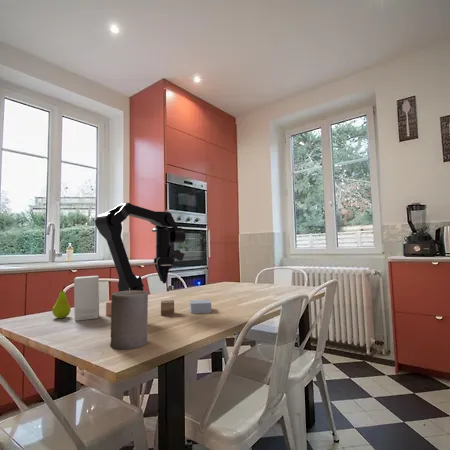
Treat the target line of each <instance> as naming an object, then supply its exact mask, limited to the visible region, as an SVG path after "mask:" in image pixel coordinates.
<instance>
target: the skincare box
mask: <svg viewBox="0 0 450 450" xmlns="http://www.w3.org/2000/svg"><path fill="white" fill-rule="evenodd" d="M99 279H100V278H99V275H89V276H76V277H75V278H73V282H74V283H73V291H74V296H73V297H74V304H73V305H74V321H75V322H76V321H77V322H78V321H83V320H85V321H86V320H95V319H96V320H97V319H99V317H100V289H99V287H100V284H99V283H100V282H99V281H100V280H99Z"/></svg>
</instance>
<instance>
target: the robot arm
mask: <svg viewBox="0 0 450 450" xmlns="http://www.w3.org/2000/svg"><path fill="white" fill-rule="evenodd" d="M128 217H133V218H137V219H139V220H145V221H147V222H149V223H151V225H152V226H154V228H153V229H151V232H152V233H155V243H156V244H155V257H154V258H153V265H154V267H155V270H156V273H157V274H158V278H159V281H160V282H162V284H167V280H168V276H169V271H170V270H171V268H173V266H174V265H175V260H174V259H176V260H177V261H181V262H183V259H184V257H185V253H184V252H181V250H180V249H175V250H174V249H173V246H172V245H171V244H183V243H185V241H186V238H187V237H186V233H185V232H184V231H183V228H182V227H178V225H177V222H176V221H175V218H174V217H173V215H172V213H171V212H170V211H155V210H151V209H148V208H144V207H143V206H142V207H141V206H139V205H135V204H132V203H131V202H122V203H120V204H118V205H117V206H116V207H114V208H112V209H110V210H108V211H106V212H104V213H101V214H100V213H99V214H98V215H97V216H96V218H95V220H94V225H95V226H96V229H97V230H98V232H99V234H100V235H101V236H102V237H103V238H104V239H105V241H106V242H107V246H108V249H109V252H110V255H111V258H112V260H113V263H114V266H115V270H116V272H117V275H118V283H117V287H118V289H117V292H119V291H129V288H130V291H132V290H137V291H145V290H144V287H145V285H144V283H143V281H142V277H141V276H140V275H135V274H134V272H133V268H132V267H131V263H130V261H129V257H128V255H127V254H128V253H127V251H126V248H125V244H124V241H123V239H122V231H123V224H122V223H123V222H124V221H125V220H127V218H128Z"/></svg>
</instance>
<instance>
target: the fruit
mask: <svg viewBox="0 0 450 450" xmlns="http://www.w3.org/2000/svg"><path fill="white" fill-rule="evenodd" d="M65 287H66V286H65V285H63V287H62V288H61V290H60V292H59V295H58V297H57V299H56V302H55V303H54V305H53V307H52V309H51V310H52V315H53V316H54V317H55V318H57V319H64V318H66V317H68V316H69V315H70V313H71V310H72V309H71V306H70V303H69V302H68V296H67V294H66V292H65V291H64V289H65Z"/></svg>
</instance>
